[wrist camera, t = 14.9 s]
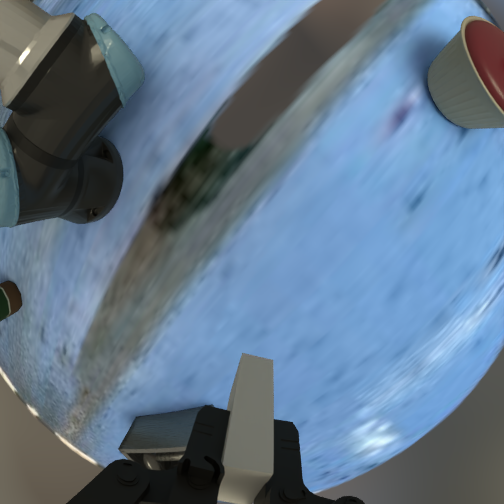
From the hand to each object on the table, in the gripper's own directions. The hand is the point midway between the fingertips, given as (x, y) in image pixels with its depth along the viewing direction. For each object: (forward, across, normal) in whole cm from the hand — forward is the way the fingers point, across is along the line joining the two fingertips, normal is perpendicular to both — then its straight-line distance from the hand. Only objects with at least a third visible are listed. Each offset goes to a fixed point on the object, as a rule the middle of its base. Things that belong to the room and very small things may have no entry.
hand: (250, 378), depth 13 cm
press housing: (+29, -6, -42) cm, 52 cm away
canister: (+30, +26, +37) cm, 54 cm away
